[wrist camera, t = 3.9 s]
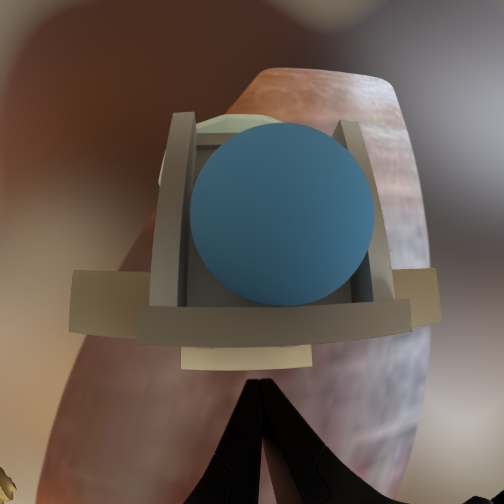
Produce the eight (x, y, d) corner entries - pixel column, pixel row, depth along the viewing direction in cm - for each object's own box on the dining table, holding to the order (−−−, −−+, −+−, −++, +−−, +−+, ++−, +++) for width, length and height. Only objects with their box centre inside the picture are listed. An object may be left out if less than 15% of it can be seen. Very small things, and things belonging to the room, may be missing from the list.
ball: (347, 319, 5) (439, 258, 3) (197, 324, 5) (157, 259, 2) (326, 199, 7) (369, 100, 4) (204, 197, 6) (192, 86, 4)
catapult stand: (302, 367, 18) (331, 363, 13) (187, 369, 17) (167, 367, 12) (298, 300, 20) (322, 270, 15) (188, 301, 20) (172, 271, 14)
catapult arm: (334, 332, 15) (494, 312, 4) (158, 335, 14) (16, 325, 4) (328, 250, 16) (445, 131, 6) (162, 250, 16) (68, 115, 5)
